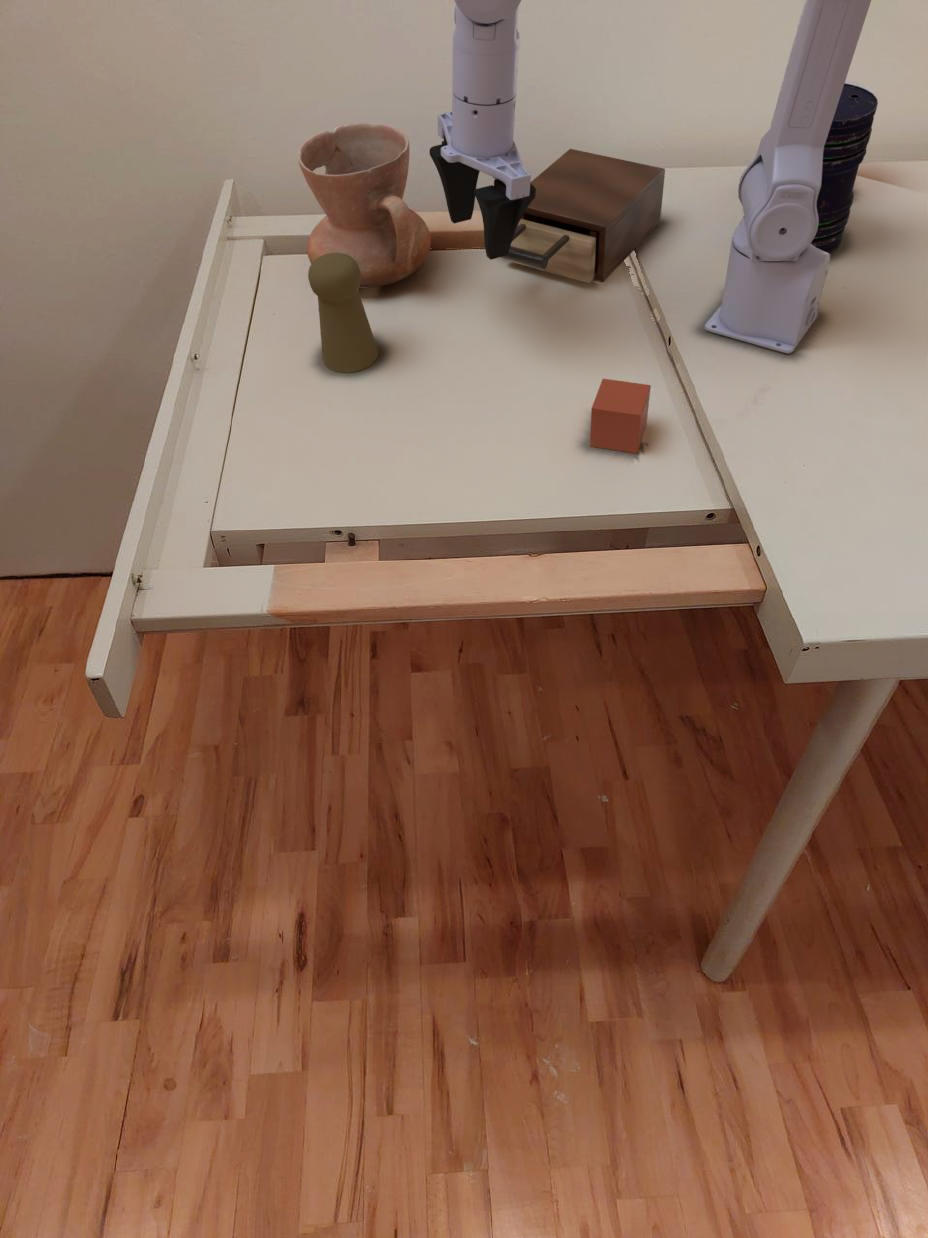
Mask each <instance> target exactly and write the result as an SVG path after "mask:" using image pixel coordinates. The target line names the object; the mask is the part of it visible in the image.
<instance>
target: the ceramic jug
mask: <svg viewBox="0 0 928 1238" xmlns="http://www.w3.org/2000/svg"><path fill="white" fill-rule="evenodd" d="M297 153H298V154H297V161H298V164H299V167H300V170H301V173H302V175H303V177H304V180H305V182H306V184H307V185H308V188H309V189H310V192H312V194H313V196H314V198H315V200H316V202H317V203H318V204H319V206H320V208H321V209H322V211H323V212H324V214H325V216H324V217H323V218H322V219H321V220H320V221H319V222H318V223H317V224H316V225H315V226H314V227H313V229H312V230H311V233H310V235H309V237H308V240H307V246H306V252H307V256H308V259H309V262H310V265H311V264H312V262H313V261H314V260H315V259H317V258H318V257H320V256H322V255H325V254H329V253H344V254H347V255H349V256H351V257H352V258H353V259H354V260H355V261H356V262H357V264H358V266H359V269H360V272H361V283H360V287H359V289H366V288H378V287H383V286H387V285H391V284H395V283H397V282H400V281H402V280H404V279H406V278H408V277H409V276H410V275H411V276H412V274H414V273H415V272H416V271H417V270H418V269H419V268H420V267H421V266H422V265H423V264H424V262H425V261H426V260H427V258H428V256H429V253H430V251H431V247H432V246H431V245H432V237H431V233H430V229H429V227H428V225H427V223H426V222H425V220H424V219H423V218H422V216H420V215H419V214H418V213H417V212H416V211H414V210H412V209H411V208H410V207H409V206H408V204H407V202H406V201H405V200H403V198H404V195H405V192H406V191H405V190H406V186H407V181H408V176H409V167H410V166H409V165H410V140H409V137H408V135H407V134H406V133H405V132H404V131H403V130H402V129H401V128H398V127H396V126H393V125H391V124H390V125H389V124H387V123H379V122H378V123H376V122H353V123H346V124H341V125H338V126H335V127H334V128H333V130H332V131H331V130H327V129H323V130H321V131H319V132H317V133H315V134H313V135H312V136H310V137H309V138H307V139H306V140H305V141H304V142H303V143H302V144H301V146H300V147H299V149H298V152H297ZM322 167H324V168H325V171H324V173H319V172H316V171H315V170H316V169H319V168H322Z"/></svg>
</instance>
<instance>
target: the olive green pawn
mask: <svg viewBox="0 0 928 1238" xmlns="http://www.w3.org/2000/svg"><path fill="white" fill-rule="evenodd" d="M307 273H308V275H307V279H308V282H309V285H310V288H311V291H312V292H313V293H314V294H315V295H316V296H317V302H318V316H319V329H320V331H319V332H320V344H321V355H322V362H323V365H324V366H325V367H326V368H327V369H329V370H330V371H333V372H335V373H341V374H351V373H356V372H361V371H362V370H365V369H367V368H369V367H370V366H372V365H373V364H374V363H375V362H376V361H377V359H378V358H379V350H378V346H377V343H376V340H375V337H374V333H373V331H372V328H371V325H370V321H369V318H368V316H367V313H366V310H365V309H366V308H365V306H364V303H363V300H362V297H361V294H360V292H359V289H360V288H359V287H360V283H361V272H360V269H359V266H358V264H357V262H356V261H355V260H354V259H353V258H352V257H351V256H349V255H347V254H344V253H329V254H325V255H322V256H320V257H318V258H317V259H315V260H314V261H313V262H312V264H311V263H310V266H309V269H308V271H307Z"/></svg>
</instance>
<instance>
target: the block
mask: <svg viewBox="0 0 928 1238" xmlns="http://www.w3.org/2000/svg"><path fill="white" fill-rule="evenodd" d="M651 385H652V384H646V383H639V382H638V383H637V382H630V381H624V380H617V379H610V378H602V380H601V382H600V385H599V387H598V390H597V392H596V394H595V395H596V396H595V398H594V401H593V403H592V405H591V415H590V432H589V447H593V448H598V449H604V450H605V449H606V450H611V451H619V452H623V453H624V452H625V453H631V454H638V452H639V448H640V446H641V442H642V440H643V436H644V433H645V431H646V427H647V423H648V415H649V405H650V398H651V397H650V396H651Z"/></svg>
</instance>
